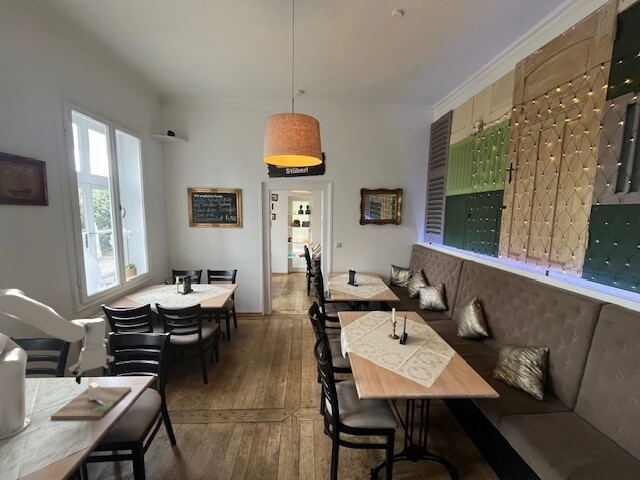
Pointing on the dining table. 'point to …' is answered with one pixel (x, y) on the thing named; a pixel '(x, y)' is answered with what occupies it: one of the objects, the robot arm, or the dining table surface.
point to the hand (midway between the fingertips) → (91, 379)
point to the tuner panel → (92, 404)
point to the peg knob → (94, 392)
